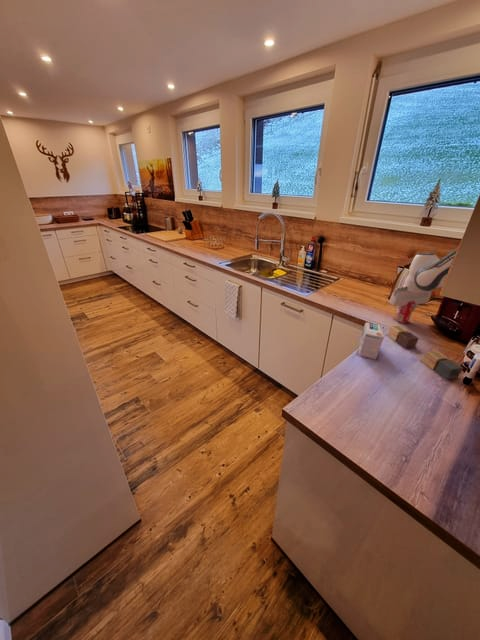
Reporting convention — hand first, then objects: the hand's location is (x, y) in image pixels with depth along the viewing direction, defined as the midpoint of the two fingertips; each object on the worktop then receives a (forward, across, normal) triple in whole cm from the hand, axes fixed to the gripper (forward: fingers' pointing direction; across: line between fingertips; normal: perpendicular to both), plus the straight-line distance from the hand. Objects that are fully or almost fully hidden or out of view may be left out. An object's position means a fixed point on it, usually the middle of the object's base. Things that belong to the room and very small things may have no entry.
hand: (404, 311), depth 133 cm
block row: (+5, -15, -27) cm, 31 cm away
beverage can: (+5, 0, 0) cm, 5 cm away
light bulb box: (+6, -35, -21) cm, 41 cm away
